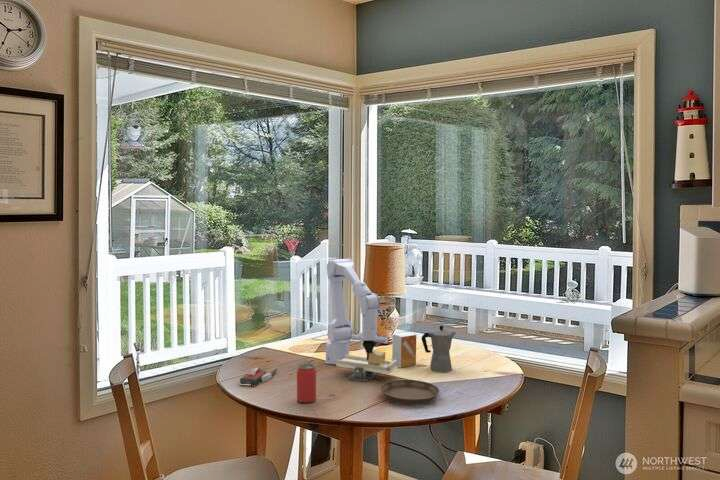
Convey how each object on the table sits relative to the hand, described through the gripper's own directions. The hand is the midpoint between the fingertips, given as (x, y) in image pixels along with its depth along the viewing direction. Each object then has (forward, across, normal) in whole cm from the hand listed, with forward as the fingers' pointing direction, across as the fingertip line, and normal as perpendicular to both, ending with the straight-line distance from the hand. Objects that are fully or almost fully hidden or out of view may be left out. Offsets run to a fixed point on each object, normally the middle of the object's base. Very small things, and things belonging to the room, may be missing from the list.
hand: (369, 359), depth 235 cm
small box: (+7, +8, +20) cm, 23 cm away
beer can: (+7, -10, -34) cm, 36 cm away
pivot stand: (+6, -2, 0) cm, 7 cm away
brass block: (+2, +3, 0) cm, 3 cm away
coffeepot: (+7, +23, +19) cm, 31 cm away
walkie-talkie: (+7, -38, -19) cm, 43 cm away
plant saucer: (+7, +22, -17) cm, 29 cm away
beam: (+3, -2, 0) cm, 4 cm away
